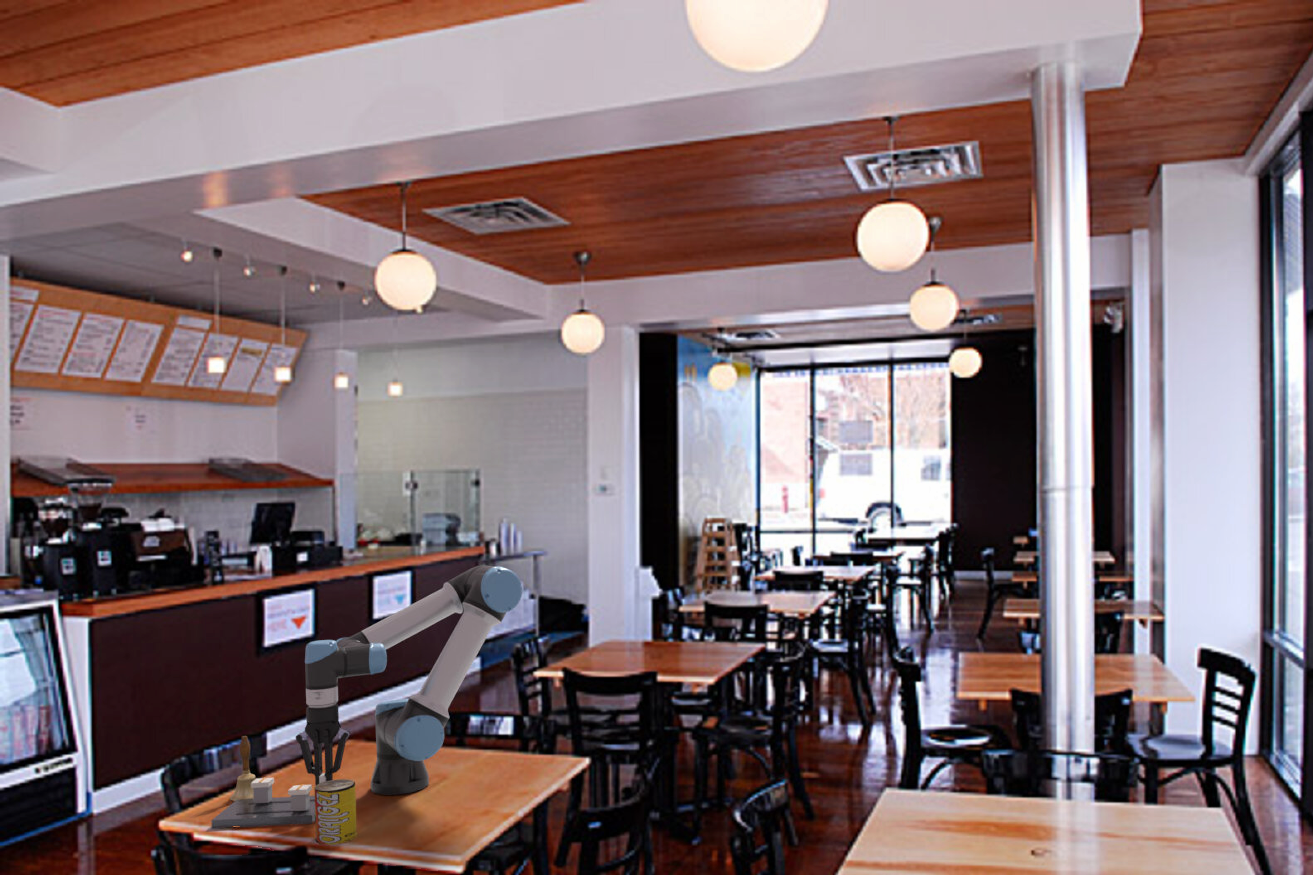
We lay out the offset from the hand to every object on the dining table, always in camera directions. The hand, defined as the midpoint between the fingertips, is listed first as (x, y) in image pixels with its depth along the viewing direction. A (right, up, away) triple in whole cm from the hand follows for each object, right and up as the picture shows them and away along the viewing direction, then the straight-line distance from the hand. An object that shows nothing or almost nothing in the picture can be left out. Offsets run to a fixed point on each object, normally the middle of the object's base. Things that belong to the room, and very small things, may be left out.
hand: (324, 801), depth 249 cm
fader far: (-18, -3, +7) cm, 20 cm away
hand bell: (-27, -6, +20) cm, 34 cm away
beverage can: (+8, -3, -15) cm, 17 cm away
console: (-14, -5, +4) cm, 15 cm away
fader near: (-6, -2, 0) cm, 6 cm away
